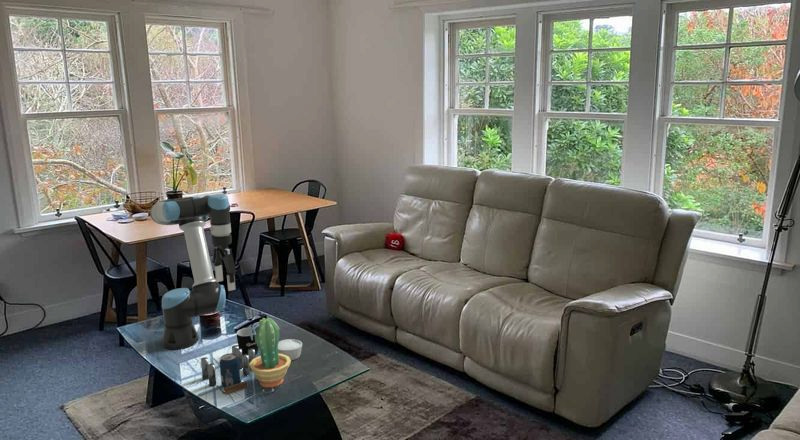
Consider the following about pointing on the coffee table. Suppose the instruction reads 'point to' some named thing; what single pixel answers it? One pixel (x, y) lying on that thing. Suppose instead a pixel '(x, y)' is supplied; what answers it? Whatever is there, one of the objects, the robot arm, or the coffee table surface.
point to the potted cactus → (268, 354)
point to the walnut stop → (235, 388)
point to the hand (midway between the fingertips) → (225, 285)
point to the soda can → (229, 370)
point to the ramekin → (290, 348)
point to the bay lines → (219, 389)
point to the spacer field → (244, 362)
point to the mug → (246, 341)
